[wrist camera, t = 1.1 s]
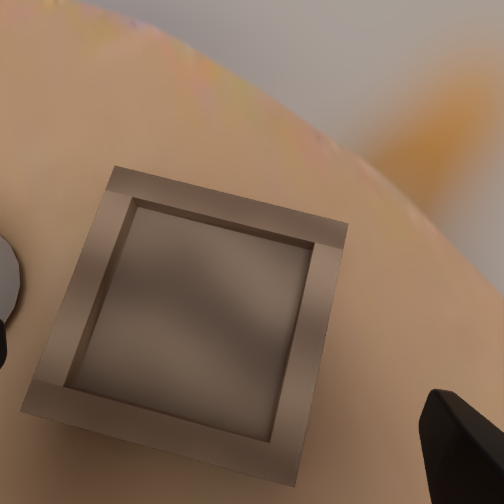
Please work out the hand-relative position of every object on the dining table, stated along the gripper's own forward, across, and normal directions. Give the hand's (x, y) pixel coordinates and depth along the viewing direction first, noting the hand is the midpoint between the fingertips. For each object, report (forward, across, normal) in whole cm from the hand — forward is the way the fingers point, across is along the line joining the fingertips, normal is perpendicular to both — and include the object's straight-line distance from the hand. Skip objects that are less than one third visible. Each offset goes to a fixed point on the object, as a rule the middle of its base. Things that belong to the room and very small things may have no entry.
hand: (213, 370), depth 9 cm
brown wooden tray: (+13, +2, +7) cm, 15 cm away
